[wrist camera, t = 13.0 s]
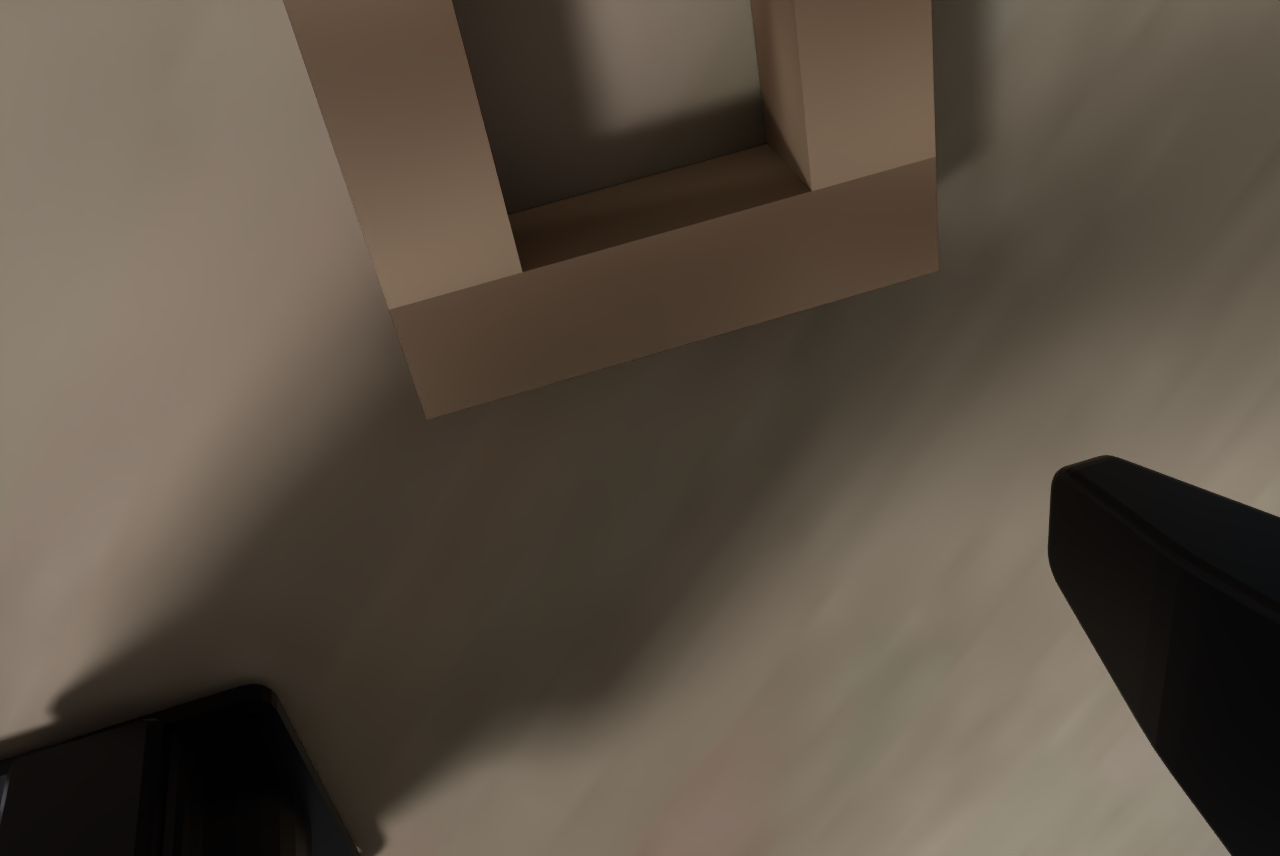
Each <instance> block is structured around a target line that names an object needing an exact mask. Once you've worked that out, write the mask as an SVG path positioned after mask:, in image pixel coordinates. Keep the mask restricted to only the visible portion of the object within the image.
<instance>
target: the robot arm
mask: <svg viewBox="0 0 1280 856" xmlns="http://www.w3.org/2000/svg"><path fill="white" fill-rule="evenodd" d="M1048 558H1049V564H1050V567H1051V571H1052V573H1053V576H1054V578H1055V581H1056V583H1057V584H1058V586H1059V588H1060V590H1061V591H1062V593H1063V595H1064V597H1065V598H1066V600H1067V602H1068V604H1069V605H1070V607H1071V609H1072V610H1073V612H1074V614H1075V616H1076V617H1077V619H1078V621H1079V622H1080V624H1081V626H1082V628H1083V629H1084V631H1085V633H1086V635H1087V636H1088V638H1089V640H1090V641H1091V643H1092V645H1093V647H1094V648H1095V650H1096V652H1097V653H1098V655H1099V657H1100V659H1101V660H1102V662H1103V664H1104V666H1105V667H1106V669H1107V671H1108V672H1109V674H1110V676H1111V678H1112V679H1113V681H1114V683H1115V684H1116V686H1117V688H1118V690H1119V691H1120V693H1121V695H1122V697H1123V698H1124V700H1125V702H1126V703H1127V705H1128V707H1129V709H1130V710H1131V712H1132V714H1133V715H1134V717H1135V719H1136V721H1137V722H1138V724H1139V726H1140V727H1141V729H1142V730H1143V732H1144V734H1145V735H1146V737H1147V739H1148V740H1149V742H1150V743H1151V745H1152V747H1153V748H1154V750H1155V751H1156V753H1157V754H1158V756H1159V757H1160V758H1161V760H1162V761H1163V763H1164V764H1165V766H1166V767H1167V768H1168V770H1169V771H1170V773H1171V774H1172V776H1173V777H1174V778H1175V780H1176V781H1177V782H1178V784H1179V785H1180V786H1181V788H1182V789H1183V791H1184V792H1185V793H1186V795H1187V796H1188V797H1189V799H1190V800H1191V801H1192V803H1193V804H1194V805H1195V807H1196V808H1197V809H1198V811H1199V812H1200V814H1201V815H1202V816H1203V818H1204V819H1205V820H1206V822H1207V823H1208V824H1209V826H1210V827H1211V828H1212V830H1213V831H1214V833H1215V834H1216V835H1217V837H1218V838H1219V839H1220V841H1221V842H1222V843H1223V845H1224V846H1225V847H1226V849H1227V850H1228V851H1229V853H1230V854H1231V856H1280V517H1278V516H1275V515H1272V514H1269V513H1267V512H1264V511H1261V510H1259V509H1256V508H1253V507H1251V506H1248V505H1245V504H1243V503H1240V502H1237V501H1234V500H1232V499H1229V498H1226V497H1224V496H1221V495H1218V494H1216V493H1213V492H1210V491H1207V490H1205V489H1202V488H1199V487H1197V486H1194V485H1191V484H1189V483H1186V482H1183V481H1181V480H1178V479H1175V478H1172V477H1170V476H1167V475H1164V474H1162V473H1159V472H1156V471H1154V470H1151V469H1148V468H1145V467H1143V466H1140V465H1137V464H1135V463H1132V462H1129V461H1127V460H1124V459H1121V458H1118V457H1115V456H1109V455H1104V456H1098V457H1095V458H1091V459H1088V460H1085V461H1081V462H1078V463H1075V464H1071V465H1068V466H1065V467H1063V468H1061V469H1060V470H1058V471H1057V472H1056V474H1055V475H1054V477H1053V480H1052V484H1051V496H1050V515H1049V535H1048ZM246 709H257V710H259V711H257V712H253V713H247V712H243V711H244V710H246ZM0 856H360V854H359V852H358V850H357V848H356V846H355V844H354V843H353V841H352V839H351V837H350V835H349V833H348V831H347V829H346V827H345V825H344V823H343V821H342V820H341V818H340V816H339V814H338V812H337V810H336V808H335V806H334V804H333V802H332V800H331V798H330V796H329V795H328V793H327V791H326V789H325V787H324V785H323V783H322V781H321V779H320V777H319V775H318V773H317V771H316V770H315V768H314V766H313V764H312V762H311V760H310V758H309V756H308V754H307V752H306V750H305V748H304V746H303V745H302V743H301V741H300V739H299V737H298V735H297V733H296V731H295V729H294V727H293V725H292V723H291V721H290V720H289V718H288V716H287V714H286V712H285V710H284V708H283V706H282V704H281V702H280V700H279V698H278V696H277V695H276V694H275V693H274V691H273V690H272V689H270V688H268V687H266V686H263V685H256V684H249V685H243V686H239V687H236V688H233V689H230V690H226V691H223V692H220V693H217V694H214V695H210V696H207V697H204V698H201V699H197V700H194V701H191V702H188V703H184V704H181V705H178V706H175V707H172V708H168V709H165V710H162V711H159V712H155V713H152V714H149V715H146V716H143V717H139V718H136V719H133V720H130V721H126V722H123V723H120V724H117V725H114V726H110V727H107V728H104V729H101V730H97V731H94V732H91V733H88V734H85V735H81V736H78V737H75V738H72V739H68V740H65V741H62V742H59V743H56V744H52V745H49V746H46V747H43V748H39V749H36V750H33V751H30V752H26V753H23V754H20V755H17V756H14V757H10V758H7V759H4V760H1V761H0Z"/></svg>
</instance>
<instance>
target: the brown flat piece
mask: <svg viewBox="0 0 1280 856" xmlns="http://www.w3.org/2000/svg"><path fill="white" fill-rule="evenodd" d="M283 2H284V5H285V8H286V11H287V14H288V17H289V19H290V22H291V25H292V28H293V31H294V34H295V37H296V40H297V43H298V46H299V49H300V52H301V54H302V57H303V60H304V63H305V66H306V69H307V72H308V75H309V78H310V81H311V84H312V87H313V90H314V92H315V95H316V98H317V101H318V104H319V107H320V110H321V113H322V116H323V119H324V122H325V125H326V128H327V130H328V133H329V136H330V139H331V142H332V145H333V148H334V151H335V154H336V157H337V160H338V163H339V166H340V168H341V171H342V174H343V177H344V180H345V183H346V186H347V189H348V192H349V195H350V198H351V201H352V204H353V206H354V209H355V212H356V215H357V218H358V221H359V224H360V227H361V230H362V233H363V236H364V239H365V242H366V244H367V247H368V250H369V253H370V256H371V259H372V262H373V265H374V268H375V271H376V274H377V277H378V279H379V282H380V285H381V288H382V291H383V294H384V297H385V300H386V303H387V306H388V309H389V312H390V315H391V317H392V320H393V323H394V326H395V329H396V332H397V335H398V338H399V341H400V344H401V347H402V350H403V353H404V355H405V358H406V361H407V364H408V367H409V370H410V373H411V376H412V379H413V382H414V385H415V388H416V391H417V393H418V396H419V399H420V402H421V405H422V408H423V411H424V414H425V417H426V420H429V419H432V418H436V417H439V416H443V415H446V414H449V413H453V412H456V411H460V410H463V409H467V408H470V407H473V406H477V405H480V404H484V403H487V402H491V401H494V400H497V399H501V398H504V397H508V396H511V395H515V394H518V393H522V392H525V391H528V390H532V389H535V388H539V387H542V386H546V385H549V384H552V383H556V382H559V381H563V380H566V379H570V378H573V377H576V376H580V375H583V374H587V373H590V372H594V371H597V370H601V369H604V368H607V367H611V366H614V365H618V364H621V363H625V362H628V361H631V360H635V359H638V358H642V357H645V356H649V355H652V354H655V353H659V352H662V351H666V350H669V349H673V348H676V347H680V346H683V345H686V344H690V343H693V342H697V341H700V340H704V339H707V338H710V337H714V336H717V335H721V334H724V333H728V332H731V331H734V330H738V329H741V328H745V327H748V326H752V325H755V324H759V323H762V322H765V321H769V320H772V319H776V318H779V317H783V316H786V315H789V314H793V313H796V312H800V311H803V310H807V309H810V308H813V307H817V306H820V305H824V304H827V303H831V302H834V301H838V300H841V299H844V298H848V297H851V296H855V295H858V294H862V293H865V292H868V291H872V290H875V289H879V288H882V287H886V286H889V285H892V284H896V283H899V282H903V281H906V280H910V279H913V278H917V277H920V276H923V275H927V274H930V273H934V272H937V271H939V256H938V221H937V186H936V150H935V115H934V80H933V44H932V9H931V0H751V9H752V18H753V26H754V35H755V43H756V52H757V61H758V69H759V78H760V87H761V95H762V104H763V113H764V121H765V130H766V138H767V144H765V145H761V146H758V147H754V148H750V149H747V150H743V151H739V152H736V153H732V154H728V155H725V156H721V157H718V158H714V159H710V160H707V161H703V162H699V163H696V164H692V165H688V166H685V167H681V168H677V169H674V170H670V171H667V172H663V173H659V174H656V175H652V176H648V177H645V178H641V179H637V180H634V181H630V182H626V183H623V184H619V185H615V186H612V187H608V188H605V189H601V190H597V191H594V192H590V193H586V194H583V195H579V196H575V197H572V198H568V199H564V200H561V201H557V202H554V203H550V204H546V205H543V206H539V207H535V208H532V209H528V210H524V211H521V212H517V213H513V214H510V215H508V214H507V210H506V207H505V203H504V199H503V195H502V191H501V187H500V184H499V180H498V176H497V172H496V168H495V164H494V161H493V157H492V153H491V149H490V145H489V141H488V138H487V134H486V130H485V126H484V122H483V118H482V114H481V111H480V107H479V103H478V99H477V95H476V91H475V88H474V84H473V80H472V76H471V72H470V68H469V65H468V61H467V57H466V53H465V49H464V45H463V42H462V38H461V34H460V30H459V26H458V22H457V19H456V15H455V11H454V7H453V3H452V0H283Z"/></svg>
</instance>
